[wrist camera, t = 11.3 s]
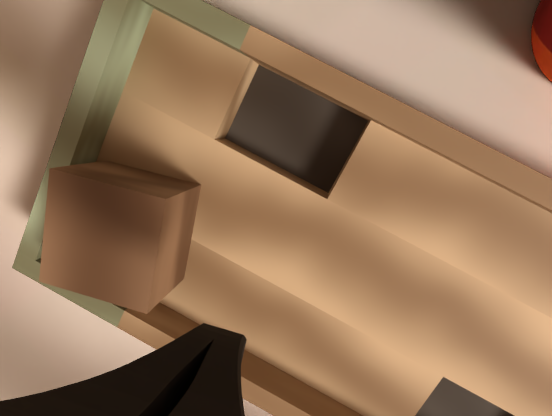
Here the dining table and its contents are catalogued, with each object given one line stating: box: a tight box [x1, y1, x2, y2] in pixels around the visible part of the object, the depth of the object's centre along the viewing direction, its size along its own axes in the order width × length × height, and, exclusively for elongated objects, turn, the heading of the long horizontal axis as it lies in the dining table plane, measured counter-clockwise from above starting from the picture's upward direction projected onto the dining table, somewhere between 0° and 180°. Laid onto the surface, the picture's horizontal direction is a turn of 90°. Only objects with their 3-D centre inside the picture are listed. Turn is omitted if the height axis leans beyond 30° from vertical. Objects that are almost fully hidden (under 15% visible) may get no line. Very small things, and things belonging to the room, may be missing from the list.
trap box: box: [12, 0, 552, 416], centre depth 19 cm, size 15×33×4 cm, turn 63°
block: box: [39, 160, 201, 314], centre depth 18 cm, size 5×5×4 cm
